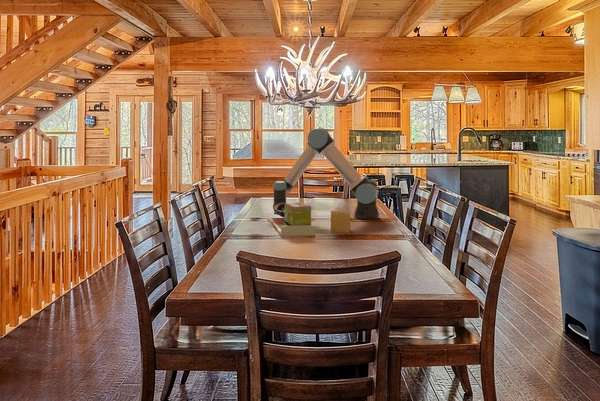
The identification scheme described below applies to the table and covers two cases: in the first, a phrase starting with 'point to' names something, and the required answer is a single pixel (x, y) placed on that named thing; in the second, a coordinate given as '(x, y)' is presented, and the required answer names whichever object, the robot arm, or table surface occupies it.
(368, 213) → the robot arm
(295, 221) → the tea box
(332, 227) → the cheese
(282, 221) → the trap pads
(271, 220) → the track rails
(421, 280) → the table surface
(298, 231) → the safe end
